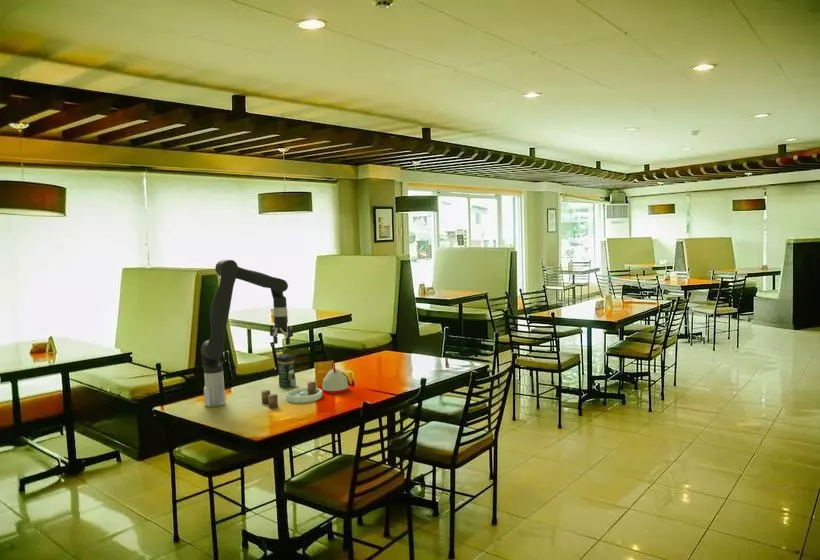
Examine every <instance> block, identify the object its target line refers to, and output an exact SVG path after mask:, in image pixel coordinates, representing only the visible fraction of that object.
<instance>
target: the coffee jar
mask: <svg viewBox="0 0 820 560" xmlns="http://www.w3.org/2000/svg"><path fill="white" fill-rule="evenodd" d="M277 366H278V386H279V387H281V388H285V389H289V388H294V387H296V386H297V381H296V379H297V378H296V371H295V356H294V355H293V354H288V353H280V354H278V356H277Z"/></svg>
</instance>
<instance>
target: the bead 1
mask: <svg viewBox="0 0 820 560" xmlns="http://www.w3.org/2000/svg"><path fill="white" fill-rule="evenodd" d="M268 395H271V390H270V389H265V390H262V391H261V404H263V405H269V399H268Z"/></svg>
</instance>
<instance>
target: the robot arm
mask: <svg viewBox="0 0 820 560" xmlns="http://www.w3.org/2000/svg"><path fill="white" fill-rule="evenodd" d="M214 268H215V272H216V274H217V275H218V276H220V280H219V285H218V288H217V290H216V292H215V293H214V296H213V298H212V300H211V306H210V311H209V322H210V335H209V339H208V340H205V341H204V342H203V343H202V345H201V347H200V354H201V355H200V356H201V364H202V366H201V367H202V368H203V372H204V373H203V374H204V376H203V377H204V387H203V396H204V399H203V400H204V406H205V407H207V408H213V407H215V408H216V407H221V406H223V405H225V404H226V391H225V380H224V379H225V378H224V365H223V364H222V362H221V359H220V358H221V357H222V355H223V354H224V352H225V339H226V337H225V335H226V330H227V327H228V326H227V325H228V322H229V321H228V320H229V315H230V310H231V305H232V298H233V293H234V292H233V290H234V286H235V282H236V280H240V281H244V282H247V283H250V284H252V285H256V286H258V287H261V288H266V289H270V291H271V297H272V301H273V311H272V312H273V324H271V325H270V327H269V336H270V337H272V338H273V339H272V341H273V344H274V345H276V344H278V343H279V342H278V335H279V334H281V335H282V334H283V336H284V337H285V344H286V346H288V345H290V344H291V338H292V337H293V336H294V330H293V326H292V325H288V322H289V320H288V318H289V317H288V309H287V308H288V307H287V297H286V296H284V292H286V291H287V290H288V289H289V284H288V282H287V281H286V280H285V279H283V278H280V277H279V278H278V277H276V276H275V277H274V276H271V275H268V274H266V273H263V272H259V271H256V270H251V269H247V268H244V267H240V266H238V263H237V262H236V261H235V260H234V259H221V260H219V261H218V262H217V263H216V264H215V267H214Z"/></svg>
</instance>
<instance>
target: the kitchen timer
mask: <svg viewBox="0 0 820 560" xmlns="http://www.w3.org/2000/svg"><path fill="white" fill-rule="evenodd" d="M332 366H333V368H332V369H331V370H329V371H328V372H327V373H326V376H324V377H323V380H322V389H321V390H322V394H328V395H337V394H338V393H339V394H342V393H346V392H348V391H349V383H348V379H347V376H345V374H344V373H343V372H342V371H341V370H339V369H337V368H336V363H335V362H333V363H332Z"/></svg>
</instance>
